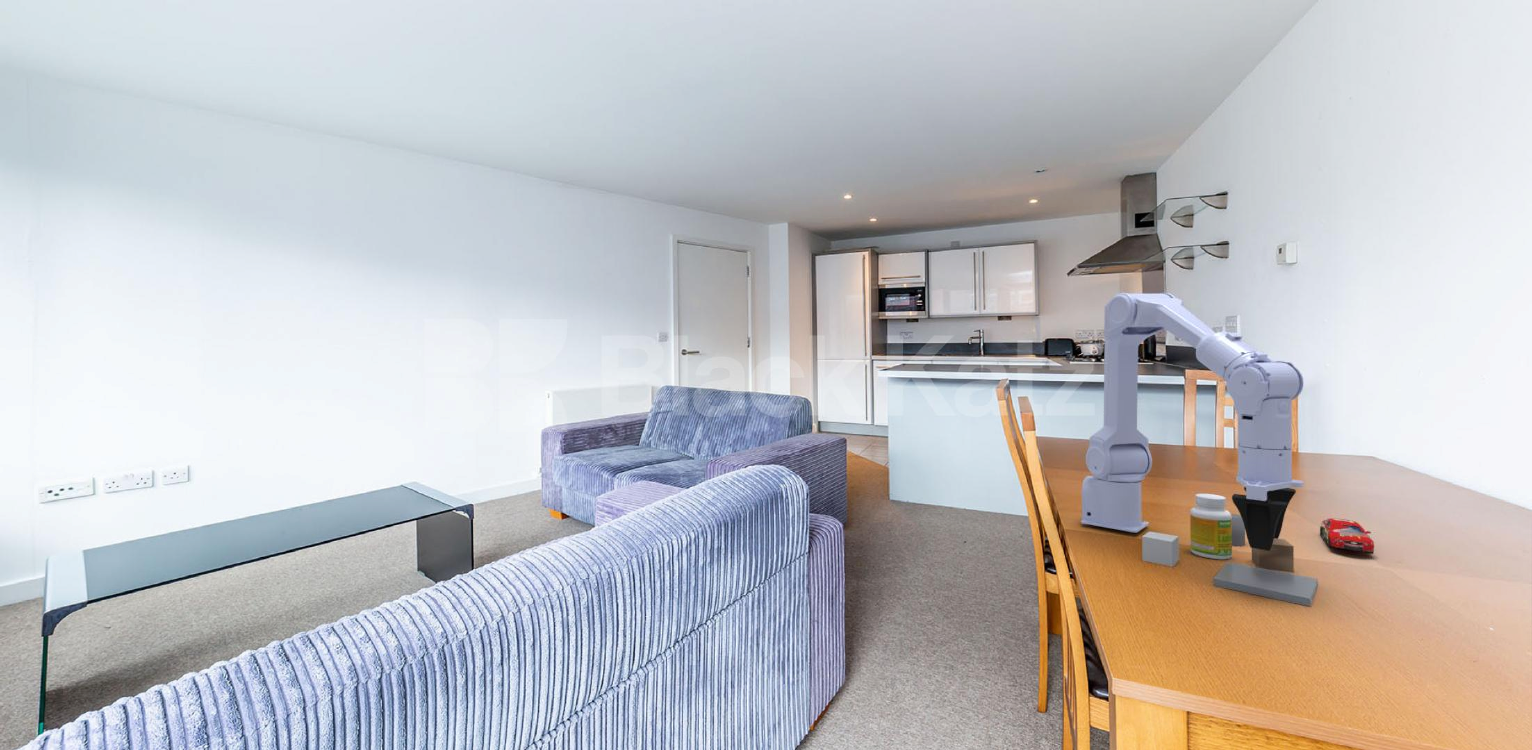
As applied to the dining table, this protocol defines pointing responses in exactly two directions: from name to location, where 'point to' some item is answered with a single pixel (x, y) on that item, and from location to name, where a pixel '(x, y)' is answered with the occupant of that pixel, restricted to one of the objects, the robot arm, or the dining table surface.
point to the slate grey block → (1238, 530)
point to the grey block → (1160, 548)
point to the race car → (1346, 535)
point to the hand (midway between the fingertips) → (1264, 542)
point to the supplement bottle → (1211, 527)
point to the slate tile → (1267, 583)
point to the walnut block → (1275, 556)
